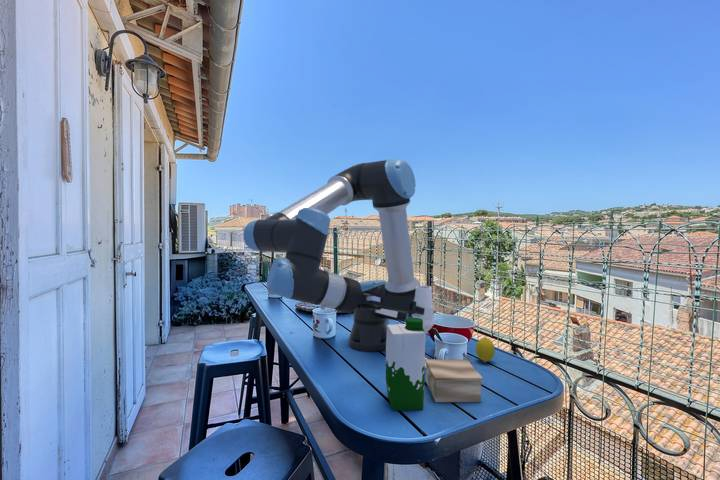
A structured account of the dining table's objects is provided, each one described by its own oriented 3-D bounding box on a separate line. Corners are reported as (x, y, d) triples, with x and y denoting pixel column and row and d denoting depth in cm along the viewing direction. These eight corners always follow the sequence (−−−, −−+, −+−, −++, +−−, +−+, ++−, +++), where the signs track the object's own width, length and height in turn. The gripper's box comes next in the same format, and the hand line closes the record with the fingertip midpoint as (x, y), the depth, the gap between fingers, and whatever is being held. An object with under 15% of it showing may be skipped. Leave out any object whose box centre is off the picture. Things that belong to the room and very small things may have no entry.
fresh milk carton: (428, 411, 75) (429, 324, 74) (389, 413, 74) (389, 325, 74) (418, 393, 84) (419, 315, 83) (383, 394, 83) (383, 315, 82)
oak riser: (424, 380, 91) (424, 359, 90) (466, 381, 91) (466, 359, 91) (434, 402, 79) (434, 377, 79) (482, 402, 79) (482, 378, 79)
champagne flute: (417, 368, 99) (418, 289, 97) (408, 359, 105) (409, 285, 104) (437, 366, 100) (438, 288, 99) (427, 357, 107) (428, 284, 105)
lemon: (496, 366, 101) (496, 340, 101) (477, 365, 102) (477, 339, 102) (492, 359, 106) (492, 335, 106) (474, 358, 107) (474, 334, 107)
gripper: (313, 308, 82) (382, 325, 91) (363, 311, 61) (447, 333, 70) (320, 279, 84) (387, 298, 93) (371, 272, 63) (451, 298, 72)
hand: (413, 313), depth 82 cm, fingers open, 13 cm apart
